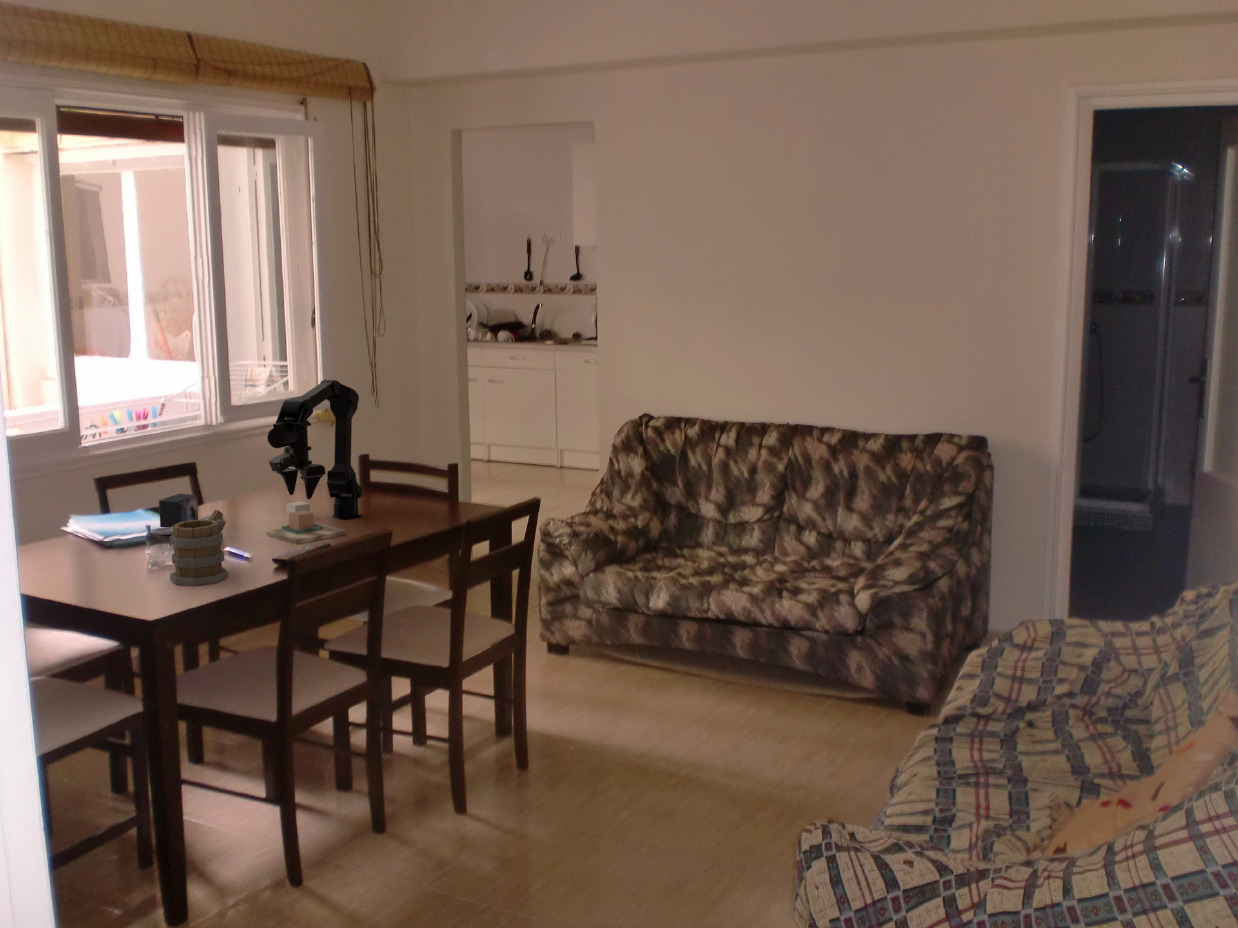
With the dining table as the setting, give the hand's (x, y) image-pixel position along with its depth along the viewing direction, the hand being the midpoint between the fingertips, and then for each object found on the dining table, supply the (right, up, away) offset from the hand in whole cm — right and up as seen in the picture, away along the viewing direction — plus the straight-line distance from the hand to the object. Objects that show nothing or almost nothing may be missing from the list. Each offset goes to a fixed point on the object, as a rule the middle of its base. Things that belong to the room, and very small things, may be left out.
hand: (300, 497), depth 332 cm
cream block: (-6, -8, +21) cm, 23 cm away
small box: (-36, -11, +4) cm, 38 cm away
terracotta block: (0, -10, +2) cm, 10 cm away
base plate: (+2, -11, +1) cm, 11 cm away
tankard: (-12, -19, -42) cm, 48 cm away
